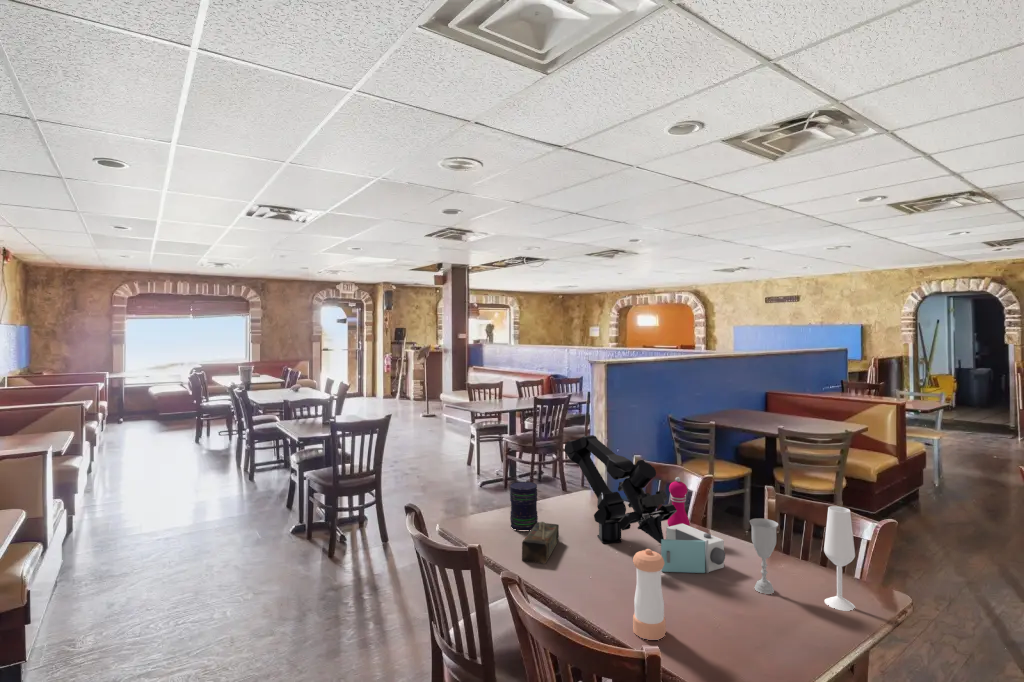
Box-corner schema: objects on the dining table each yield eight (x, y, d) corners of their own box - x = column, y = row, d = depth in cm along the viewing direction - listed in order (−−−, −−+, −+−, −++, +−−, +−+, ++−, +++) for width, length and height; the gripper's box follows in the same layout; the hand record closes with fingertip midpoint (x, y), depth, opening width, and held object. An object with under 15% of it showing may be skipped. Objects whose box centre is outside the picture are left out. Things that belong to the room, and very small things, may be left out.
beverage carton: (559, 541, 179) (559, 521, 179) (546, 565, 161) (546, 543, 161) (536, 539, 182) (536, 519, 182) (520, 562, 163) (520, 540, 163)
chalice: (766, 598, 139) (765, 529, 138) (744, 587, 145) (743, 521, 144) (784, 592, 142) (784, 524, 142) (762, 581, 148) (761, 516, 148)
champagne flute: (818, 597, 139) (818, 505, 139) (845, 597, 139) (844, 504, 138) (833, 610, 132) (833, 513, 132) (861, 611, 132) (861, 513, 132)
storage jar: (512, 521, 198) (511, 481, 198) (539, 522, 197) (538, 481, 197) (508, 531, 188) (507, 488, 188) (536, 532, 187) (535, 489, 187)
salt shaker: (660, 623, 128) (659, 542, 127) (670, 640, 120) (669, 555, 120) (629, 624, 127) (628, 543, 127) (637, 641, 120) (636, 556, 120)
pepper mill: (687, 532, 185) (686, 474, 185) (692, 540, 178) (691, 480, 178) (665, 531, 186) (665, 474, 186) (669, 539, 179) (669, 479, 179)
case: (665, 553, 168) (665, 523, 168) (682, 548, 172) (682, 519, 171) (710, 574, 153) (710, 542, 152) (728, 569, 156) (728, 537, 156)
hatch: (704, 571, 154) (704, 540, 154) (705, 574, 152) (705, 543, 152) (661, 570, 156) (661, 539, 155) (662, 573, 154) (662, 541, 154)
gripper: (624, 486, 158) (651, 535, 148) (671, 477, 167) (700, 523, 157) (608, 505, 165) (633, 554, 155) (654, 496, 174) (680, 541, 164)
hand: (662, 543), depth 158 cm, fingers closed
